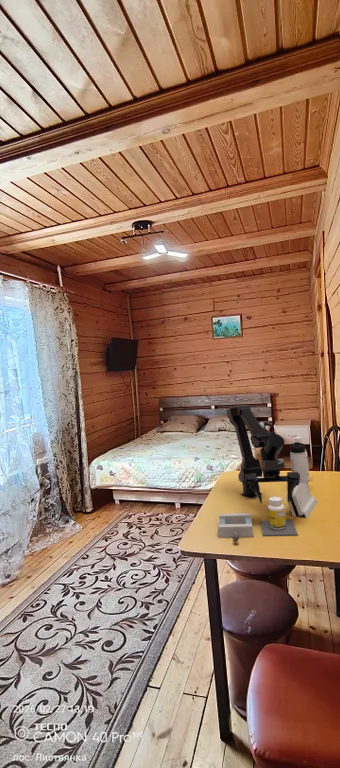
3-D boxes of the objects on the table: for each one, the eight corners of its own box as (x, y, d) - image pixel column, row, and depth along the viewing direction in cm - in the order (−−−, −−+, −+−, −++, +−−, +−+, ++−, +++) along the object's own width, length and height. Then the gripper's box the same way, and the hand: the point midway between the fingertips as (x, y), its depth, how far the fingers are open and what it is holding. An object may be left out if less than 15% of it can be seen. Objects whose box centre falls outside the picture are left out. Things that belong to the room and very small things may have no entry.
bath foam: (290, 480, 175) (287, 438, 174) (299, 476, 179) (296, 435, 178) (303, 483, 169) (299, 439, 168) (312, 479, 173) (309, 436, 172)
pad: (260, 522, 133) (260, 520, 133) (292, 521, 131) (292, 519, 131) (262, 536, 122) (262, 534, 122) (297, 535, 120) (297, 534, 120)
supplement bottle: (266, 525, 129) (264, 497, 128) (280, 522, 130) (278, 494, 130) (274, 531, 124) (272, 502, 123) (289, 528, 125) (286, 499, 124)
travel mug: (308, 487, 164) (304, 441, 163) (308, 492, 157) (305, 445, 157) (293, 486, 166) (289, 442, 165) (292, 491, 160) (289, 445, 159)
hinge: (307, 518, 132) (295, 491, 134) (294, 521, 135) (283, 494, 136) (317, 502, 146) (307, 477, 148) (306, 504, 149) (295, 480, 150)
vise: (220, 523, 135) (219, 513, 135) (251, 522, 133) (250, 512, 133) (218, 545, 119) (217, 534, 119) (254, 544, 117) (253, 533, 117)
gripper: (243, 451, 134) (246, 492, 124) (297, 449, 131) (305, 491, 121) (243, 467, 142) (247, 506, 132) (294, 464, 139) (302, 505, 129)
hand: (275, 502), depth 128 cm, fingers open, 9 cm apart
